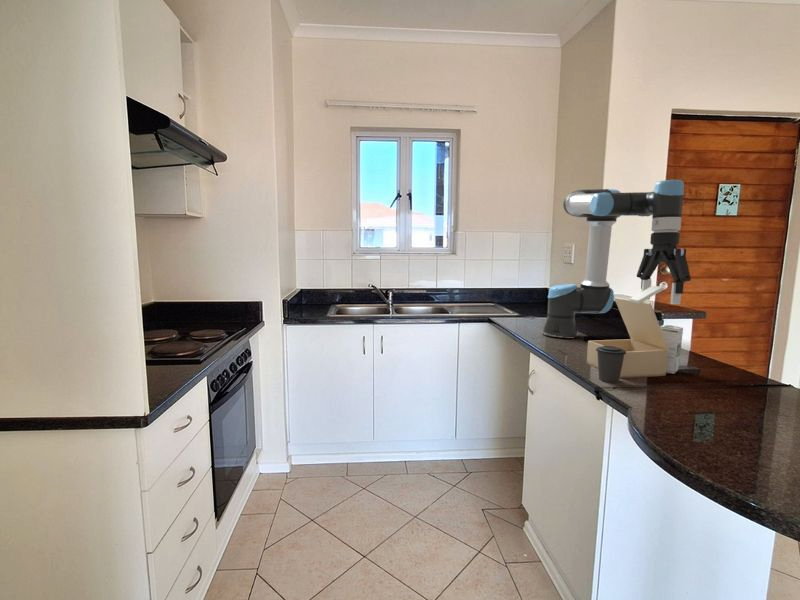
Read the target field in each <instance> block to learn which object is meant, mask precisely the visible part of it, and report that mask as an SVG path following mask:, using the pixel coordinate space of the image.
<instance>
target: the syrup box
mask: <svg viewBox="0 0 800 600" xmlns="http://www.w3.org/2000/svg"><path fill="white" fill-rule="evenodd" d="M660 328H661V331H662V333H663V336H664V338H665V341H666V343H667V346H668V348H669V349H668V354H667V366H666V374H674V375H675V374H676V373H678V371H679V367H680V358H681V351H682V341H683V334H684V327H681V326H677V325H671V324H663V325H660ZM661 349H662V348H661ZM664 350H665V349H664Z"/></svg>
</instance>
